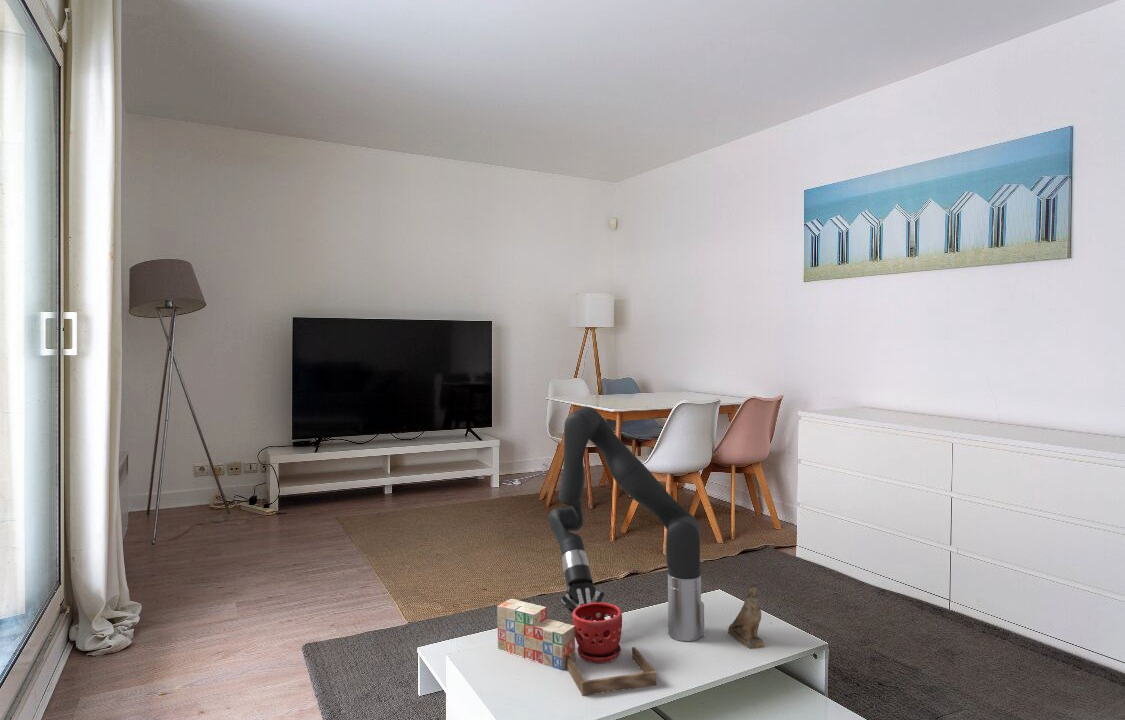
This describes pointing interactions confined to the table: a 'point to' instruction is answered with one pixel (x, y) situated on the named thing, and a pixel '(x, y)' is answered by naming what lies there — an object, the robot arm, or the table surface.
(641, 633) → the table surface
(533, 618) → the stack of blocks
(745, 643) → the brown carved statuette
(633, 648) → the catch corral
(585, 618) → the plant pot
